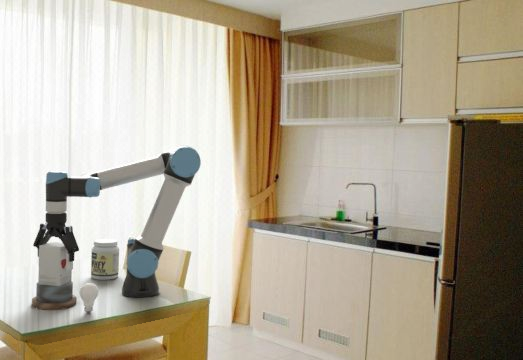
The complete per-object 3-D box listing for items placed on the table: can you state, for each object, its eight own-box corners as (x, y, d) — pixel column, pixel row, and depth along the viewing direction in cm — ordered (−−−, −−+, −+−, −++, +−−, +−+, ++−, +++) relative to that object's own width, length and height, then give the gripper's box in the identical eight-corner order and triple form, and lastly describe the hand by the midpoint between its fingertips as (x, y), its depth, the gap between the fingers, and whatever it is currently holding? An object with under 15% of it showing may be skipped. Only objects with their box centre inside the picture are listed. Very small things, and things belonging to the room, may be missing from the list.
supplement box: (59, 287, 213) (59, 247, 212) (37, 284, 215) (38, 245, 214) (72, 281, 222) (73, 243, 220) (51, 279, 223) (52, 241, 222)
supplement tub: (85, 278, 258) (86, 241, 257) (101, 273, 270) (101, 237, 269) (108, 281, 255) (109, 244, 253) (123, 276, 266) (124, 240, 265)
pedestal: (85, 301, 223) (85, 281, 222) (55, 312, 208) (55, 290, 208) (53, 295, 229) (54, 276, 229) (22, 305, 214) (22, 284, 214)
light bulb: (99, 310, 213) (100, 281, 212) (95, 315, 206) (95, 285, 206) (81, 309, 213) (82, 280, 212) (76, 315, 206) (77, 285, 205)
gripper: (89, 213, 215) (88, 269, 216) (38, 208, 225) (38, 261, 226) (75, 216, 208) (74, 273, 209) (23, 210, 218) (23, 265, 219)
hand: (55, 267), depth 218 cm, fingers open, 13 cm apart
